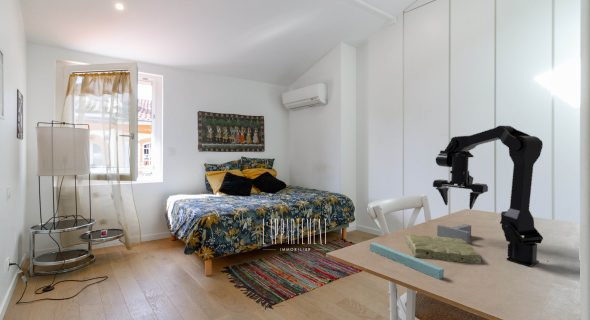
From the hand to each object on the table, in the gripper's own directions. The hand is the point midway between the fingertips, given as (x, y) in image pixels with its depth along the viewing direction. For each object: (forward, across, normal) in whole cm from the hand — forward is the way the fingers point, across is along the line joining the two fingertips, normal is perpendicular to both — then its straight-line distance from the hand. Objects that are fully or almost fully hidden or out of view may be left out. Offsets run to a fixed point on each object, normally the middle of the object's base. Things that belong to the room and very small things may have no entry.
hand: (458, 207), depth 118 cm
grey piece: (+12, -1, 0) cm, 12 cm away
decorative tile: (+13, -3, +22) cm, 26 cm away
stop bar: (+12, 0, +41) cm, 43 cm away
